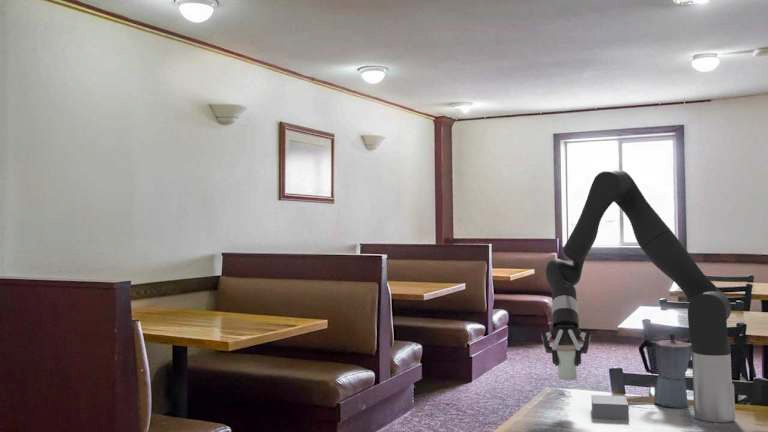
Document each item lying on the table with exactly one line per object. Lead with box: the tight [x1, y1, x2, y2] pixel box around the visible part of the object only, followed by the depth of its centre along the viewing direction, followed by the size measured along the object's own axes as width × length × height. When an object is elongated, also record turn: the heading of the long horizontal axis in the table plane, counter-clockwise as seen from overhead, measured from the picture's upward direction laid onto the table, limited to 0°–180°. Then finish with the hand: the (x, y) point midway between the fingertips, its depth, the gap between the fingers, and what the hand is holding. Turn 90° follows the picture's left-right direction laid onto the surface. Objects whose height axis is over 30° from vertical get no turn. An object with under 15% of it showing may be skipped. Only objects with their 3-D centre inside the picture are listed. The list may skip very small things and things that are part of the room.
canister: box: [556, 344, 578, 381], centre depth 183 cm, size 5×5×9 cm
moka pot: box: [638, 333, 692, 409], centre depth 189 cm, size 10×15×20 cm, turn 78°
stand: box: [590, 394, 630, 421], centre depth 180 cm, size 9×9×4 cm
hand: (566, 364), depth 182 cm, fingers closed on canister, 5 cm apart
